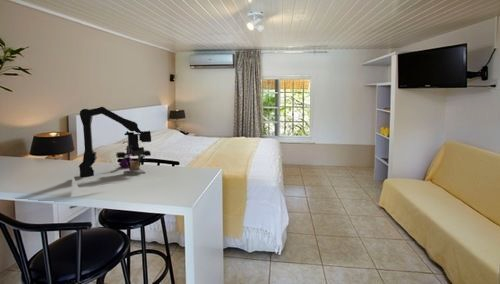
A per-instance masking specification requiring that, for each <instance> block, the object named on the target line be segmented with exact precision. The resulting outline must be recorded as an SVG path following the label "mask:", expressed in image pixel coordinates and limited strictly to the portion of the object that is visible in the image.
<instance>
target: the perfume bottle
mask: <svg viewBox="0 0 500 284" xmlns="http://www.w3.org/2000/svg"><path fill="white" fill-rule="evenodd" d="M125 143H127V144H128V140H124V141H123V142H122V144H123V145H124V144H125ZM125 150H126V152H125V153H128V145H126V148H125ZM128 157H129V161H134V160H133V158H131V157H130V156H128ZM118 165H119V166H120V167H121V168H127V169H129V167H128V165H127V162H126V161H125V159H123V158H122V160H121V161H120V162H119V163H118Z"/></svg>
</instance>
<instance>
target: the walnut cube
mask: <svg viewBox="0 0 500 284" xmlns="http://www.w3.org/2000/svg"><path fill="white" fill-rule="evenodd" d="M129 162H130V169H129V168H128V171H129V170H130V171H136V170H140V167H141V165H140V166H139V161H138V160H133V161H129Z"/></svg>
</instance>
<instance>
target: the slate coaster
mask: <svg viewBox="0 0 500 284" xmlns="http://www.w3.org/2000/svg"><path fill="white" fill-rule="evenodd" d="M123 173H124V174H125V175H127V176H131V175H132V176H133V175H141V174H146V171H145V170H143V169H140V170H136V171H130V170H129V169H128V170H124V171H123Z"/></svg>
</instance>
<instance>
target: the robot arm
mask: <svg viewBox="0 0 500 284" xmlns="http://www.w3.org/2000/svg"><path fill="white" fill-rule="evenodd" d="M98 115H104V116H106V117H108V118H109V119H111V120H113V121H115V122H117V123H119V124H121V126H123V127H124V128H126V129H127V131H126V132H125V133H124V136H127V141H128V143H127V146H128V153H126V152H124V151H117V152H115V157H116V158H117V159H122V160H123V159H125V161H126V162H127V165H128V167H129V168H128V170H129V169H130V162H129V157H130V156H131V157H137V161H139V166H140V167H141V163H142V161H143V159H145V158H146V157H149V156H151V155H152V153H151V151H150V150H147V149H146V150H145V147H144V146H141V147H140V146H139V145H140V144H139V141H140V142H141V143H151V142H152V135H151V133H152V132H151V131H150V130H147V131H146V130H144V131H143V130H142V131H141V129H140V128H139V127H138V126H139V125H138V123H137V122H136V121H133V120H131V119H126V118H124V117H123V116H121V115H118V114H117V113H115V112H113V111H111V110H109V109H108V108H106V107H104V106H100V107H97V108H96V107H95V108H91V109H89V108H83V109H81V110H80V112H79V117H80V121H81V124H82V128H83V129H82V131H83V142H84V143H83V144H84V153H83V157H82V162H81V163H80V164H79V165H78V168H79V178H89V177H94V176H95V170H94V169H93V167H92V166H93V165H94V164H95V163H96V161H97V159H98V157H97V151H94V149H93V135H92V134H93V133H92V122H93V117H94V116H98ZM128 156H129V157H128Z"/></svg>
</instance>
